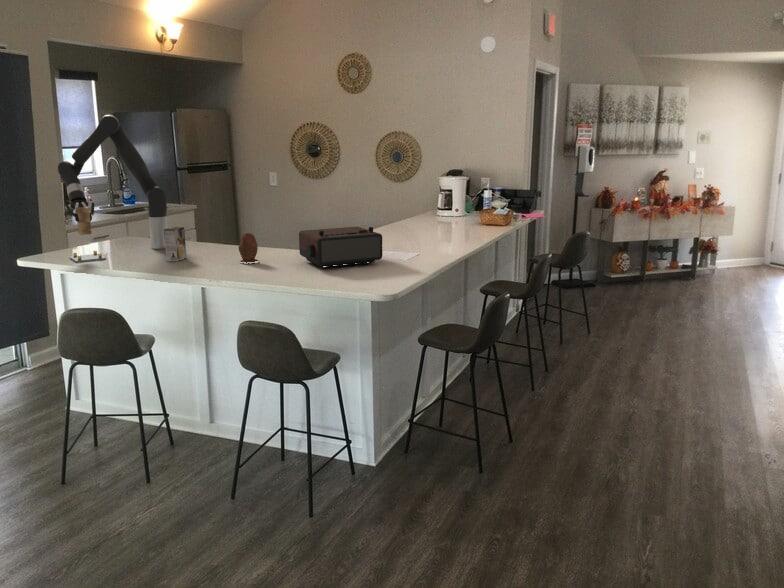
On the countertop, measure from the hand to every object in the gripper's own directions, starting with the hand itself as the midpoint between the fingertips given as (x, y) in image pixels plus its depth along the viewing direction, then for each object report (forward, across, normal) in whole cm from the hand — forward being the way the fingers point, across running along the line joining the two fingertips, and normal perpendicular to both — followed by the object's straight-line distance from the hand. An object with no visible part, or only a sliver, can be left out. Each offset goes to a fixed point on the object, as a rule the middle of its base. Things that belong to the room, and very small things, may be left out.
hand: (84, 220), depth 335 cm
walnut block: (+4, 0, +6) cm, 7 cm away
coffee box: (+33, +35, -6) cm, 49 cm away
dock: (+13, 0, +15) cm, 20 cm away
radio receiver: (+73, +95, -46) cm, 128 cm away
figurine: (+53, +61, -26) cm, 85 cm away
